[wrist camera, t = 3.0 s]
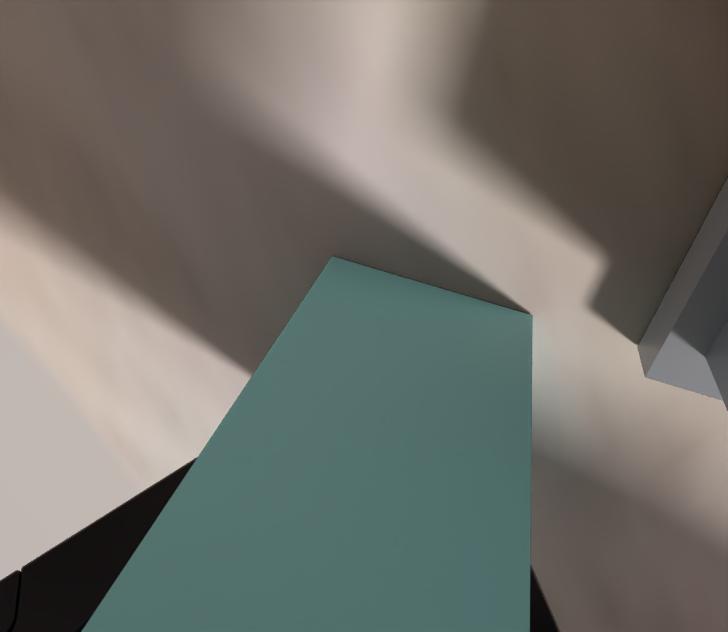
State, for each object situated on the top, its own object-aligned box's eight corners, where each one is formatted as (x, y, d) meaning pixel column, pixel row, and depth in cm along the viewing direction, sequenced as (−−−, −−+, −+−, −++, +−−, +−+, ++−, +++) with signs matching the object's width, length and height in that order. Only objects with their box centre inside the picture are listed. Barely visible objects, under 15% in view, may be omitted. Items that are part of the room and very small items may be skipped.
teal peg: (532, 315, 12) (524, 1164, 4) (471, 464, 14) (376, 1220, 6) (332, 255, 12) (-100, 900, 4) (301, 409, 15) (-23, 1045, 6)
